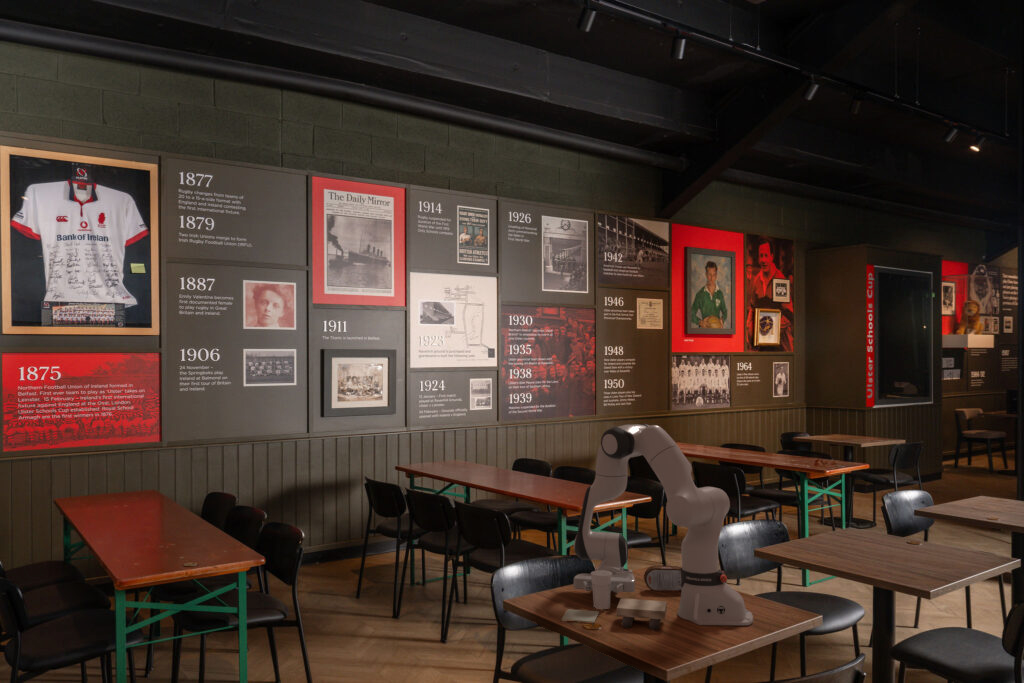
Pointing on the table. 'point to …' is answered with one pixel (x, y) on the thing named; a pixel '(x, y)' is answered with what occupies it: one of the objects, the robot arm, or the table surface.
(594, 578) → the cup
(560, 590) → the table surface
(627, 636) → the table surface
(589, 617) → the pad
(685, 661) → the table surface
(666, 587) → the tin
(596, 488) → the robot arm
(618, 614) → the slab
